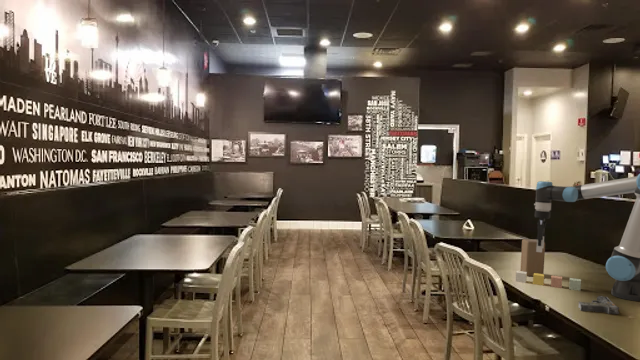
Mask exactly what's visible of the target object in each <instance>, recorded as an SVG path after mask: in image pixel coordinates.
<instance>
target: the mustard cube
mask: <svg viewBox="0 0 640 360" xmlns="http://www.w3.org/2000/svg"><path fill="white" fill-rule="evenodd" d="M532 284H533V285H537V286H544V285H545V274H538V273H534V274H533V276H532Z"/></svg>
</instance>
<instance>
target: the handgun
mask: <svg viewBox="0 0 640 360" xmlns="http://www.w3.org/2000/svg"><path fill="white" fill-rule="evenodd" d="M579 308H580V309H579ZM578 309H579V311H580V312H586V311H593V312H592V313H604V312H605V313H604V314H607V315H619V314H620V307H619V306H617V305H616V304H615V303H614V302H613V301H611V299H610V298H609V297H608V296H604V295H598V296H597V297H596V300H594V299H593V300H592V299H591V302H585V301H578ZM594 311H595V312H594Z"/></svg>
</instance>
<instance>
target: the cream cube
mask: <svg viewBox="0 0 640 360" xmlns="http://www.w3.org/2000/svg"><path fill="white" fill-rule="evenodd" d="M527 277H528V276H527V272H523V271H520V270H516V271H515V282H516V283H524V284H526V283H527V280H528V279H527Z"/></svg>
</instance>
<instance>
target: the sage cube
mask: <svg viewBox="0 0 640 360" xmlns="http://www.w3.org/2000/svg"><path fill="white" fill-rule="evenodd" d="M568 283H569V284H568V288H569V289H568V290H571V291H577V290H578V291H579V292H581V289H582V287H581V285H582V279H581V278H572V277H569V282H568Z"/></svg>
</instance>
